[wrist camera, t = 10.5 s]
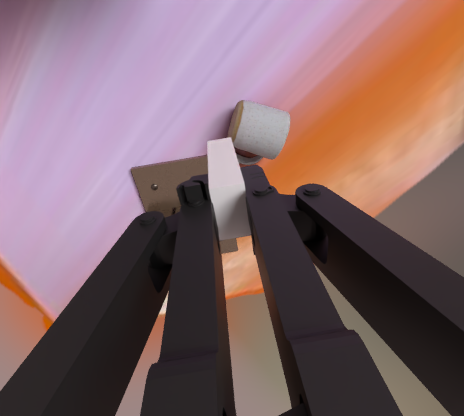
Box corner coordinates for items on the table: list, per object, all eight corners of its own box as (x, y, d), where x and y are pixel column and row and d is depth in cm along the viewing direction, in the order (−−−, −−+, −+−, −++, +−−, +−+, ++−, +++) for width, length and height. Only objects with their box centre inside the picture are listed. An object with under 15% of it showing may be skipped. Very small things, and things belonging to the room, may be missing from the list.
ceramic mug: (236, 93, 43) (241, 103, 36) (283, 107, 45) (296, 119, 38) (219, 155, 48) (221, 173, 42) (262, 165, 50) (271, 184, 43)
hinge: (165, 260, 59) (162, 275, 55) (131, 167, 48) (125, 178, 44) (237, 248, 59) (240, 262, 55) (221, 152, 48) (223, 161, 44)
